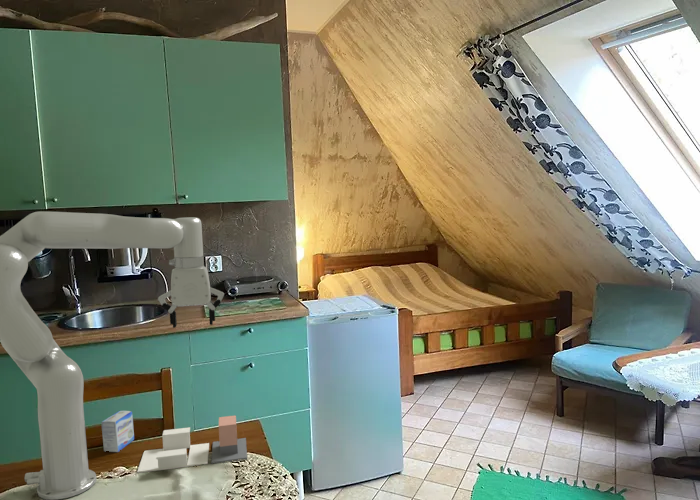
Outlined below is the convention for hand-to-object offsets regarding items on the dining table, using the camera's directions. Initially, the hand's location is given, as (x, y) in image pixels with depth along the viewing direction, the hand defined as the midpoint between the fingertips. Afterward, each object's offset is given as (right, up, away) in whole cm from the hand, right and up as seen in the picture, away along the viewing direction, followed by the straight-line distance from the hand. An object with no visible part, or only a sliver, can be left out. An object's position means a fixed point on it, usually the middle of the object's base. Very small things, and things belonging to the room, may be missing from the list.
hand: (193, 325), depth 151 cm
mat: (+11, -33, -3) cm, 35 cm away
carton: (-3, -34, -6) cm, 35 cm away
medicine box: (-21, -34, +3) cm, 40 cm away
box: (+10, -33, -3) cm, 35 cm away
